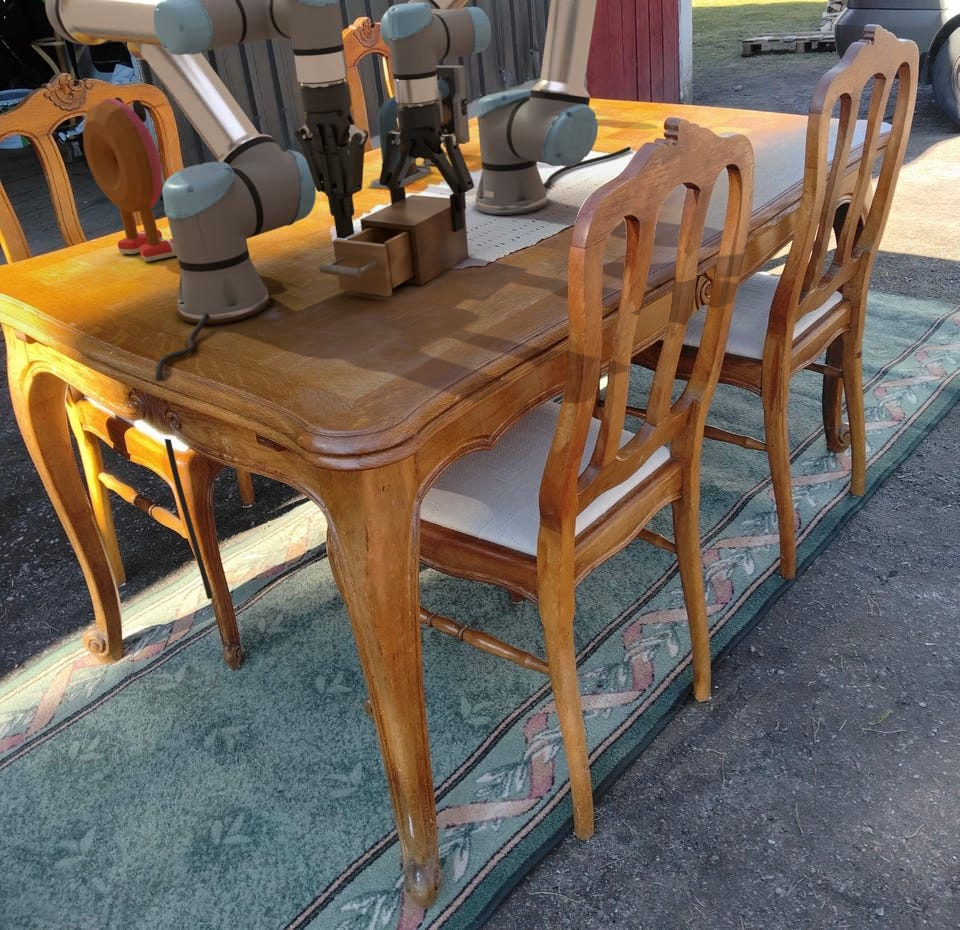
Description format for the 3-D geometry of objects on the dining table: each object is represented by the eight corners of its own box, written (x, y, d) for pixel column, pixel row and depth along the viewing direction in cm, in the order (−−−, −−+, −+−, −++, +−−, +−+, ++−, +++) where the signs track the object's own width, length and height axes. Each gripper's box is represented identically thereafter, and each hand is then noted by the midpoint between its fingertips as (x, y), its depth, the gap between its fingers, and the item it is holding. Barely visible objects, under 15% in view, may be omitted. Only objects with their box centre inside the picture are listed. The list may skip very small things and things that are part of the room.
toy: (203, 253, 194) (168, 96, 179) (158, 268, 188) (118, 106, 172) (148, 236, 207) (111, 88, 192) (105, 250, 201) (62, 98, 186)
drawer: (367, 309, 158) (360, 258, 153) (318, 301, 162) (310, 251, 158) (436, 268, 173) (431, 220, 169) (389, 262, 178) (383, 215, 173)
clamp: (398, 189, 225) (386, 93, 214) (367, 187, 229) (354, 92, 218) (470, 153, 251) (464, 65, 240) (441, 151, 255) (433, 65, 244)
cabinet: (421, 285, 169) (414, 225, 163) (367, 278, 174) (360, 219, 169) (468, 256, 181) (464, 199, 175) (417, 250, 186) (411, 194, 181)
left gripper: (373, 78, 145) (391, 232, 157) (305, 76, 151) (328, 225, 163) (342, 88, 139) (364, 247, 152) (274, 86, 145) (300, 238, 158)
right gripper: (488, 100, 164) (496, 226, 175) (374, 96, 175) (388, 215, 186) (465, 109, 158) (475, 238, 169) (349, 104, 170) (365, 226, 181)
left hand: (345, 235), depth 157 cm, fingers closed
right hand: (430, 226), depth 178 cm, fingers closed on cabinet, 11 cm apart
